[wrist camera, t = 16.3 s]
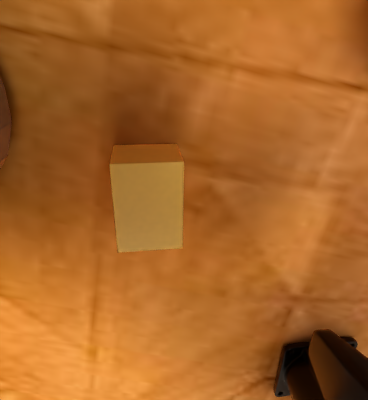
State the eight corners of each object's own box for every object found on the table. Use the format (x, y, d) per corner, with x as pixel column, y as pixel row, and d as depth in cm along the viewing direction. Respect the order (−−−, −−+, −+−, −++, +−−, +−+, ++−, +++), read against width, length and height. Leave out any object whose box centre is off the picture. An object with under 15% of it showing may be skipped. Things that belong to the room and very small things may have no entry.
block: (176, 220, 20) (182, 248, 17) (120, 223, 20) (117, 252, 17) (177, 143, 18) (184, 161, 15) (113, 144, 17) (109, 163, 15)
